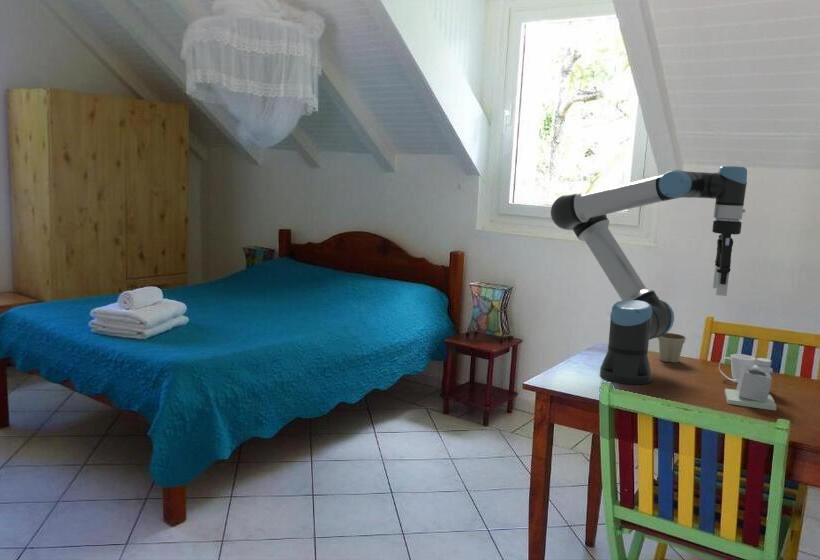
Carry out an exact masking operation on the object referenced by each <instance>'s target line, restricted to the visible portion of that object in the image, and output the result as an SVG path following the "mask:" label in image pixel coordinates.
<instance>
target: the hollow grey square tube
mask: <svg viewBox="0 0 820 560" xmlns="http://www.w3.org/2000/svg"><path fill="white" fill-rule="evenodd" d="M772 381H773V377H772V378H771V376H770V374H769V372H765V371H760V370H759V374H758V375H757V374H752V373H749V372H748V368H746V367H741V371H740V375H739V380H738V383H736V384H737V385H736V388H735V390H736V391H737V393H738V396H739V397H743V398H747V399H751V400H756V401H760V402H764V403H766V401H767V397H768V394H770V392H769V390H770V391H771V384H772Z"/></svg>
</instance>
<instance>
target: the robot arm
mask: <svg viewBox="0 0 820 560" xmlns="http://www.w3.org/2000/svg"><path fill="white" fill-rule="evenodd" d="M747 179H748V169H747V167H745V166H738V165H737V166H730V165H728V166H727V165H726V166H725V165H724V166H722V165H721V166H720V167H719V169H718V171H717V172H702V171H701V172H700V171H697V172H696V171H687V170H686V171H684V170H679V169H675V170H670V171H667V172H666V173H664V174H661V175H657V176H652V177H650V178H649V177H648V178H645V179H641V180H636V181H633V182H629V183H625V184H621V185H617V186H613V187H609V188H607V189H606V188H605V189H602V190H598V191H594V192H590V193H583V192H577V193H574V194H573V193H572V194H564V195H561V196H559V197H558V198H557V199H556V200H554V202H553V203H552V205H551V208H550V217H551V220H552V221H553V223H554V224H555V225H556V226H557V227H558V228H560V229H562V230H566V231H569V230H570V231H573V233H574V234H575V236H576V237H577V239H578V240H579V241H582V242H585V243H586V245H587V247H588V248H589V250H590V252H591V253H592V255H593V256H594V258H595V259H596V261H597V263H598V265H599V266H600V268H601V269H602V271H603V272H604V275H606V278H607V280H608V281H609V282H610V284H611V285H612V287H613V289H614V290H615V292H616V293H617V295H618V296H619V298H620V300H619V301H617V302H615V303H614V304H613V305H612V307H611V311H610V315H609V316H610V321H609V323H610V324H609V333H608V334H609V335H608V344H607V345H608V346H607V352H606V354H605V356H604V359H603V361H602V363H601V365H600V370H599V375H600V377H602V378H603V379H604V380H605V379H606V380H608V381H610V382H613V383H619V384H626V385H645V384H649V383H651V382H652V374H653V373H652V369H651V366H650V362H649V357H648V353H649V345H650V343H649V342H650V340H652V339H657V338H658V337H661V336H662V335H664V334H666V333H669V332H670V330H672V327H673V326H674V322H675V315H674V314H675V313H674V311H673V308H672V306H671V305H670V304H669V303H668V302H666V301H664V300H663V299H660V298H659V296H658V295H657V294H656V292H655V291H654V290H653V289H652V288H651V289H649V288H647V287H646V285H645V284H644V282H643V280H642V279H641V278H640V276H639V274H638V273H637V272H636V270H635V268H634V266H633V265H632V264H631V262H630V260H629V259H628V257H627V255H626V254H625V252H624V250H623V249H622V247H621V246H620V244H619V243H618V242H617V240H616V238H615V237H614V236H613V234H612V232H611V230H610V229H609V225H610V220H609V218H608V217H607V215H608V214H612V213H613V214H614V213H617V212H621V211H626V210H630V209H634V208H638V207H643V206H648V205H652V204H656V203H661V202H665V201H666V202H667V201H670V200H675V199H680V198H689V199H690V198H692V199H693V198H698V199H715V202H714V203H715V204H714V209H713V210H714V212H713V218H714V220H713V223H712V233H714V234H719V235H718V238H717V242H716V245H717V246H716V256H715V260H714V263H715V264H714V274H713V275H714V276H713V282H712V283H713V284H712V289H716V291H715V296H721V297H722V296H723V297H726V296H727V293H728V286H729V277H730V272H731V265H732V264H731V263H732V262H731V261H732V252H733V244H734V239H733V238H732V235H740V234H741V232H742V224H743V223H742V222H741V221H740V220H742V219H743V216H744V215H743V214H744V213H746V209H744V205H745V198H746V197H745V196H746V191H747V184H748V182H747Z"/></svg>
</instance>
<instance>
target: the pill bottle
mask: <svg viewBox="0 0 820 560" xmlns="http://www.w3.org/2000/svg"><path fill="white" fill-rule="evenodd" d="M755 359H756V360H755V364H754V366H753V369H757V370H760V371H765V372H769V374H770V376H771V378H772V379H773V372H774V370H773V368H772V367H771V365H772V360H771V359H769V358H764V357H757V358H755ZM770 391H771V389H770V390H769V393H771V392H770Z"/></svg>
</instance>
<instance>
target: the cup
mask: <svg viewBox="0 0 820 560" xmlns="http://www.w3.org/2000/svg"><path fill="white" fill-rule="evenodd" d="M756 359H757V358H755V357H754V356H753V355H748V354H742V353H734V354H733V353H732V354H730V357H729V356H725V357H723V358H721V359H720V361H719V363H718V371H719V372H720V374H721V375H722V376H723V377H725V378H726V379H727V380H729V381H731V382H733V383H736V384H738V380H739V375H740V371H741V367H746V368H753V366H754V365H755V364H756ZM724 360H729V361H730V365H731V366H730V370H731V377H732V378H730V377H728V376H727V375H726V374H725V373H724V372H723V371H722V370H721V364H722V362H723V361H724Z"/></svg>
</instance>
